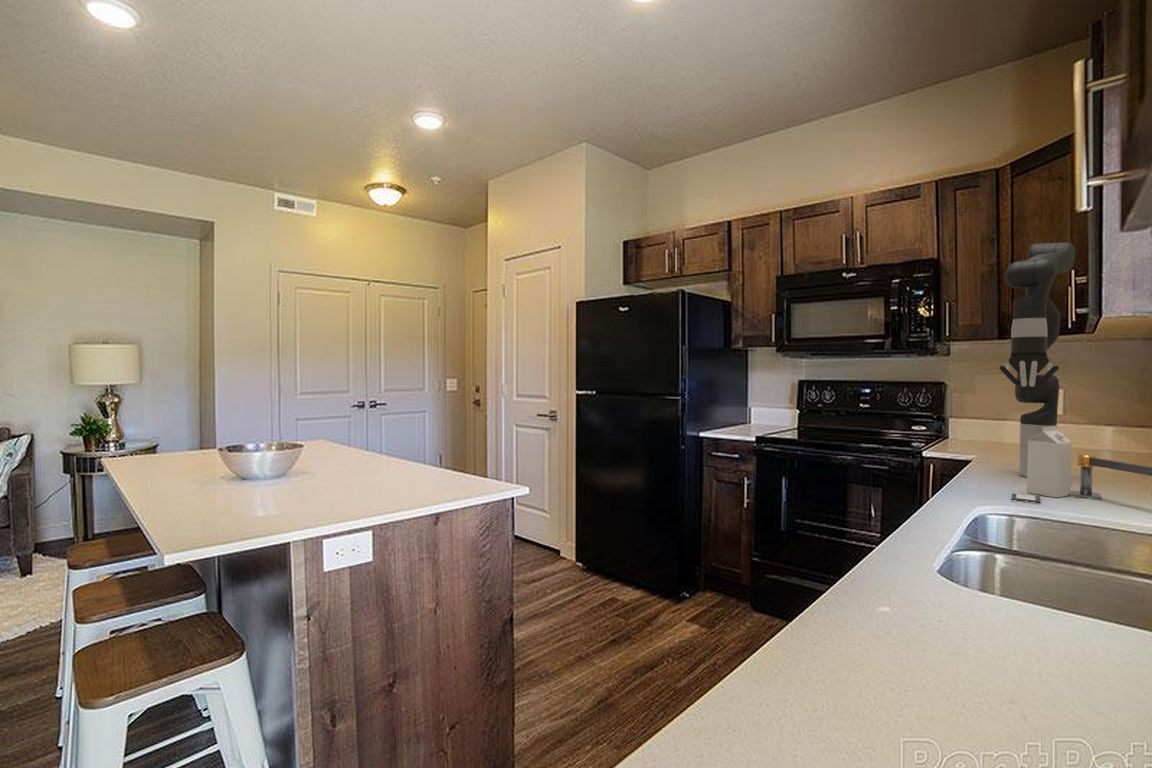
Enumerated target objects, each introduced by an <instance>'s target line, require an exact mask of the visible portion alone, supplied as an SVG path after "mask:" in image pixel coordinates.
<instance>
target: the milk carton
mask: <svg viewBox="0 0 1152 768" xmlns="http://www.w3.org/2000/svg"><path fill="white" fill-rule="evenodd" d="M1071 473H1072V441H1071V440H1070V439H1069V438H1067V437H1066V435H1064V434H1063V433H1062V432H1061V431H1059V430H1058V425H1057V426H1055V427H1043V428H1042V432H1041V433H1039V434H1037V435H1036V436H1034V437H1033V438H1031V439H1030V440H1028V468H1027V477H1026V478H1027V479H1026V493H1027V492H1028V493H1027V494H1032V495H1037V496H1044V497H1045V496H1046V497H1051V498H1056V497H1057V498H1061V497H1067V496H1068V495H1069V496H1071V484H1072V483H1071V481H1072V480H1071V479H1072V475H1071Z"/></svg>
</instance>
